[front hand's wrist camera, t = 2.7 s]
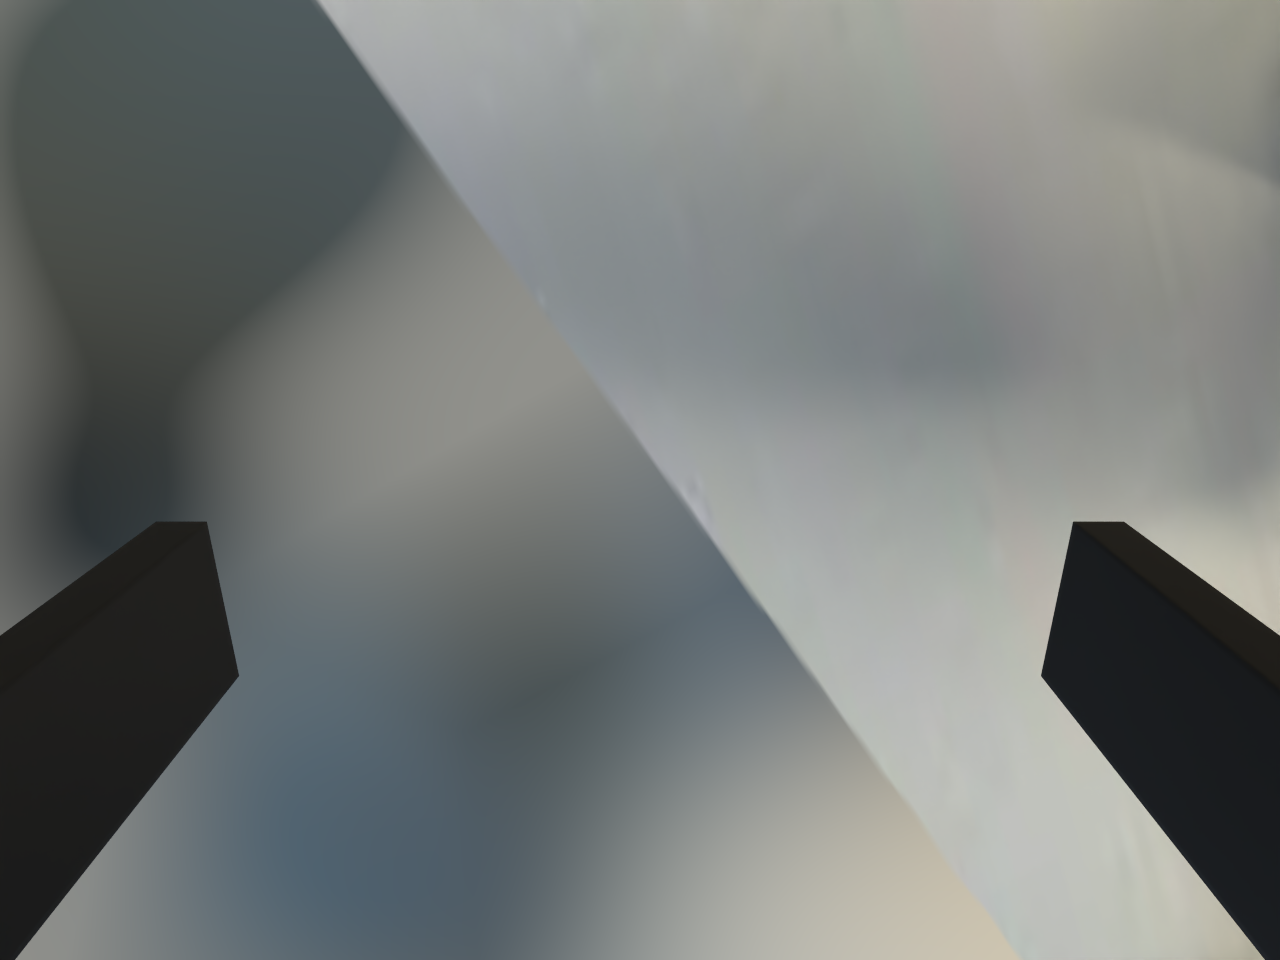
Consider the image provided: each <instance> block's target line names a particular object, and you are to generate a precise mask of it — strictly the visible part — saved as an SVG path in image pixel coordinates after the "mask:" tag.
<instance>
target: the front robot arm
mask: <svg viewBox="0 0 1280 960" xmlns="http://www.w3.org/2000/svg"><path fill="white" fill-rule="evenodd" d="M238 676H239V674H238V669H237V664H236V659H235V654H234V650H233V645H232V640H231V635H230V631H229V626H228V621H227V616H226V612H225V607H224V602H223V597H222V593H221V588H220V583H219V578H218V573H217V569H216V564H215V559H214V554H213V549H212V545H211V540H210V535H209V530H208V526H207V522H155V523H154V524H152V525H151V526H150V527H148V528H147V529H146V530H144V531H143V532H141V533H140V534H139V535H137V536H136V537H135V538H133V539H132V540H130V541H129V542H128V543H126V544H125V545H124V546H122V547H121V548H120V549H118V550H117V551H115V552H114V553H113V554H111V555H110V556H109V557H107V558H106V559H104V560H103V561H102V562H100V563H99V564H98V565H96V566H95V567H94V568H92V569H91V570H90V571H88V572H87V573H85V574H84V575H83V576H81V577H80V578H79V579H77V580H76V581H74V582H73V583H72V584H70V585H69V586H68V587H66V588H65V589H63V590H62V591H61V592H59V593H58V594H57V595H55V596H54V597H53V598H51V599H50V600H48V601H47V602H46V603H44V604H43V605H42V606H40V607H39V608H37V609H36V610H35V611H33V612H32V613H31V614H29V615H28V616H27V617H25V618H24V619H22V620H21V621H20V622H18V623H17V624H16V625H14V626H13V627H12V628H10V629H9V630H7V631H6V632H5V633H3V634H2V635H1V636H0V960H15V959H16V958H17V956H18V955H19V954H20V953H21V951H22V950H23V949H24V948H25V946H26V945H27V944H28V942H29V941H30V940H31V939H32V937H33V936H34V935H35V934H36V932H37V931H38V930H39V928H40V927H41V926H42V925H43V923H44V922H45V921H46V920H47V918H48V917H49V916H50V915H51V913H52V912H53V911H54V910H55V908H56V907H57V906H58V905H59V903H60V902H61V901H62V899H63V898H64V897H65V896H66V894H67V893H68V892H69V891H70V889H71V888H72V887H73V886H74V884H75V883H76V882H77V880H78V879H79V878H80V877H81V875H82V874H83V873H84V872H85V870H86V869H87V868H88V867H89V865H90V864H91V863H92V861H93V860H94V859H95V858H96V856H97V855H98V854H99V853H100V851H101V850H102V849H103V847H104V846H105V845H106V844H107V842H108V841H109V840H110V839H111V837H112V836H113V835H114V834H115V832H116V831H117V830H118V828H119V827H120V826H121V825H122V823H123V822H124V821H125V820H126V818H127V817H128V816H129V815H130V813H131V812H132V811H133V809H134V808H135V807H136V806H137V804H138V803H139V802H140V801H141V799H142V798H143V797H144V796H145V794H146V793H147V792H148V790H149V789H150V788H151V787H152V785H153V784H154V783H155V782H156V780H157V779H158V778H159V777H160V775H161V774H162V773H163V771H164V770H165V769H166V768H167V766H168V765H169V764H170V763H171V761H172V760H173V759H174V758H175V756H176V755H177V754H178V752H179V751H180V750H181V749H182V747H183V746H184V745H185V744H186V742H187V741H188V740H189V738H190V737H191V736H192V735H193V733H194V732H195V731H196V730H197V728H198V727H199V726H200V725H201V723H202V722H203V721H204V720H205V718H206V717H207V716H208V714H209V713H210V712H211V711H212V709H213V708H214V707H215V706H216V704H217V703H218V702H219V701H220V699H221V698H222V697H223V695H224V694H225V693H226V692H227V690H228V689H229V688H230V687H231V685H232V684H233V683H234V682H235V680H236V679H237V678H238ZM1041 676H1042V678H1043V679H1044V680H1045V682H1046V683H1047V684H1048V685H1049V687H1050V688H1051V689H1052V690H1053V692H1054V693H1055V694H1056V695H1057V697H1058V698H1059V699H1060V701H1061V702H1062V703H1063V704H1064V706H1065V707H1066V708H1067V709H1068V711H1069V712H1070V713H1071V714H1072V716H1073V717H1074V718H1075V720H1076V721H1077V722H1078V723H1079V725H1080V726H1081V727H1082V728H1083V730H1084V731H1085V732H1086V733H1087V735H1088V736H1089V737H1090V739H1091V740H1092V741H1093V742H1094V744H1095V745H1096V746H1097V747H1098V749H1099V750H1100V751H1101V752H1102V754H1103V755H1104V756H1105V758H1106V759H1107V760H1108V761H1109V763H1110V764H1111V765H1112V766H1113V768H1114V769H1115V770H1116V771H1117V773H1118V774H1119V775H1120V777H1121V778H1122V779H1123V780H1124V782H1125V783H1126V784H1127V785H1128V787H1129V788H1130V789H1131V790H1132V792H1133V793H1134V794H1135V796H1136V797H1137V798H1138V799H1139V801H1140V802H1141V803H1142V804H1143V806H1144V807H1145V808H1146V809H1147V811H1148V812H1149V813H1150V815H1151V816H1152V817H1153V818H1154V820H1155V821H1156V822H1157V823H1158V825H1159V826H1160V827H1161V829H1162V830H1163V831H1164V832H1165V834H1166V835H1167V836H1168V837H1169V839H1170V840H1171V841H1172V842H1173V844H1174V845H1175V846H1176V848H1177V849H1178V850H1179V851H1180V853H1181V854H1182V855H1183V856H1184V858H1185V859H1186V860H1187V861H1188V863H1189V864H1190V865H1191V867H1192V868H1193V869H1194V870H1195V872H1196V873H1197V874H1198V875H1199V877H1200V878H1201V879H1202V880H1203V882H1204V883H1205V884H1206V886H1207V887H1208V888H1209V889H1210V891H1211V892H1212V893H1213V894H1214V896H1215V897H1216V898H1217V899H1218V901H1219V902H1220V903H1221V905H1222V906H1223V907H1224V908H1225V910H1226V911H1227V912H1228V913H1229V915H1230V916H1231V917H1232V918H1233V920H1234V921H1235V922H1236V924H1237V925H1238V926H1239V927H1240V929H1241V930H1242V931H1243V932H1244V934H1245V935H1246V936H1247V937H1248V939H1249V940H1250V941H1251V943H1252V944H1253V945H1254V946H1255V948H1256V949H1257V950H1258V951H1259V953H1260V954H1261V955H1262V956H1263V958H1264V959H1265V960H1280V636H1279V635H1278V634H1277V633H1275V632H1274V631H1273V630H1271V629H1270V628H1268V627H1267V626H1266V625H1264V624H1263V623H1262V622H1260V621H1259V620H1258V619H1256V618H1255V617H1253V616H1252V615H1251V614H1249V613H1248V612H1247V611H1245V610H1244V609H1243V608H1241V607H1240V606H1238V605H1237V604H1236V603H1234V602H1233V601H1232V600H1230V599H1229V598H1227V597H1226V596H1225V595H1223V594H1222V593H1221V592H1219V591H1218V590H1217V589H1215V588H1214V587H1212V586H1211V585H1210V584H1208V583H1207V582H1206V581H1204V580H1203V579H1201V578H1200V577H1199V576H1197V575H1196V574H1195V573H1193V572H1192V571H1191V570H1189V569H1188V568H1186V567H1185V566H1184V565H1182V564H1181V563H1180V562H1178V561H1177V560H1176V559H1174V558H1173V557H1171V556H1170V555H1169V554H1167V553H1166V552H1165V551H1163V550H1162V549H1160V548H1159V547H1158V546H1156V545H1155V544H1154V543H1152V542H1151V541H1150V540H1148V539H1147V538H1145V537H1144V536H1143V535H1141V534H1140V533H1139V532H1137V531H1136V530H1135V529H1133V528H1132V527H1130V526H1129V525H1128V524H1126V523H1125V522H1073V526H1072V530H1071V535H1070V540H1069V545H1068V549H1067V554H1066V559H1065V564H1064V569H1063V573H1062V578H1061V583H1060V588H1059V592H1058V597H1057V602H1056V607H1055V612H1054V616H1053V621H1052V626H1051V631H1050V635H1049V640H1048V645H1047V650H1046V654H1045V659H1044V664H1043V669H1042V674H1041Z"/></svg>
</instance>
